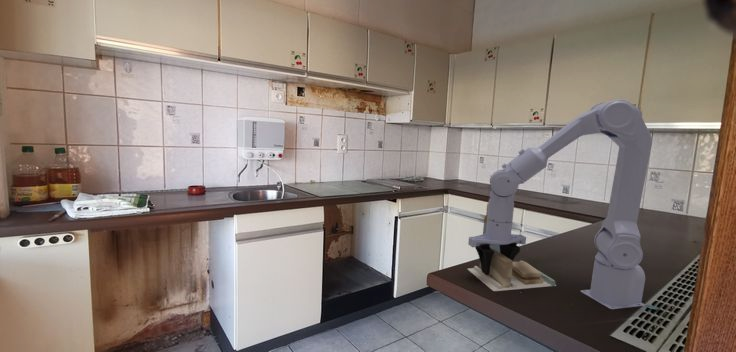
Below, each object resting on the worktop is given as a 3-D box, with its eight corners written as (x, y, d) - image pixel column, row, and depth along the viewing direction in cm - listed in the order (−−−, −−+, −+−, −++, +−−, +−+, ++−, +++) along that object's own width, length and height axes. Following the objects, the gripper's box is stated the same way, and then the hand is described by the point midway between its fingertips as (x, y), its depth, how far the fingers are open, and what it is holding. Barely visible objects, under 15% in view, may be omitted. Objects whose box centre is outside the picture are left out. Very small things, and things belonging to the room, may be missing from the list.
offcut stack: (519, 267, 89) (520, 258, 89) (544, 283, 81) (545, 273, 80) (501, 268, 88) (502, 260, 88) (524, 284, 80) (525, 275, 79)
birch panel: (486, 269, 88) (488, 245, 87) (510, 287, 78) (512, 261, 77) (479, 269, 87) (481, 245, 86) (502, 287, 78) (505, 261, 77)
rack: (522, 266, 91) (523, 260, 91) (556, 287, 80) (557, 280, 80) (466, 270, 88) (467, 264, 87) (493, 293, 76) (494, 286, 76)
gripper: (515, 214, 86) (509, 264, 88) (464, 215, 82) (459, 267, 85) (534, 222, 79) (528, 276, 81) (479, 224, 76) (474, 280, 78)
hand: (494, 272), depth 82 cm, fingers open, 4 cm apart
